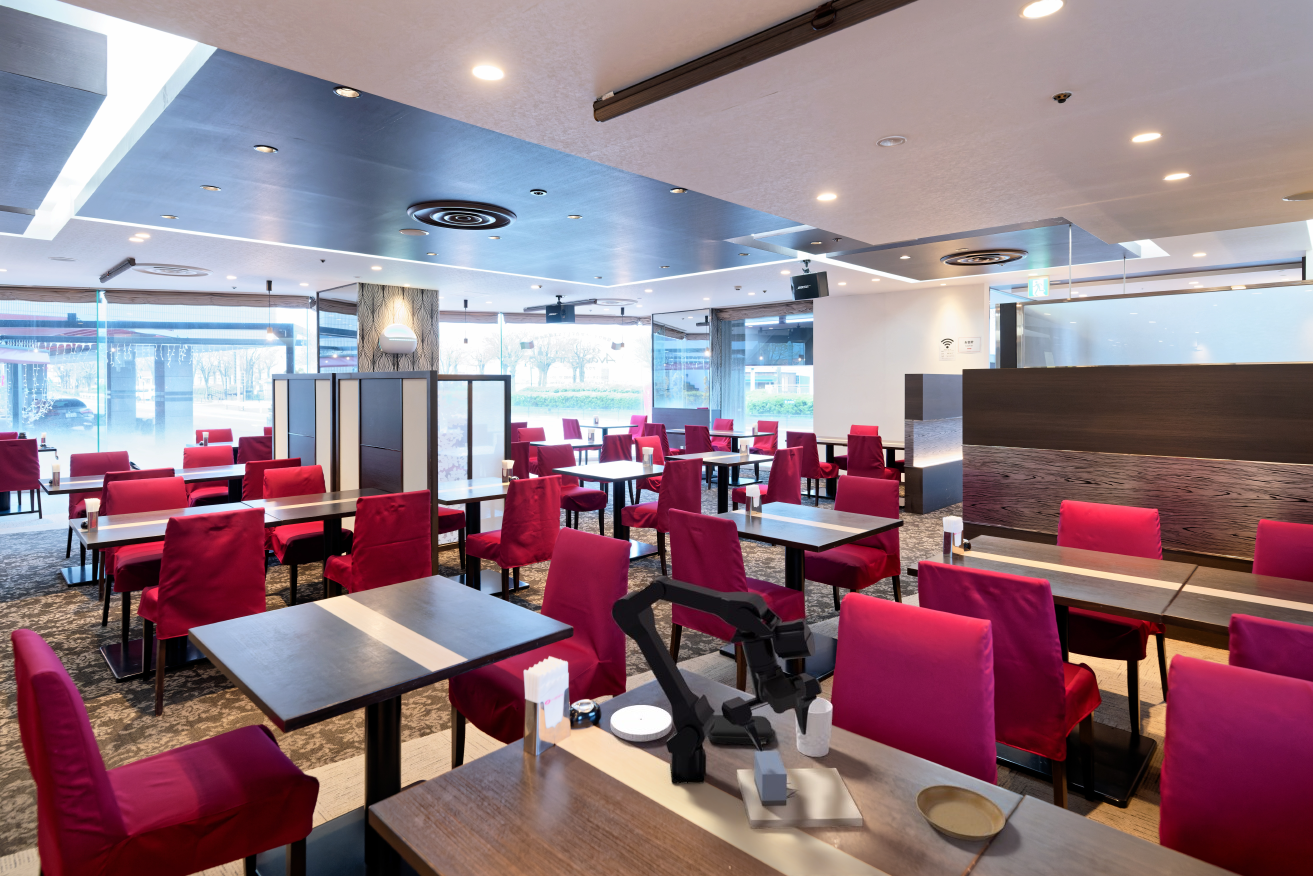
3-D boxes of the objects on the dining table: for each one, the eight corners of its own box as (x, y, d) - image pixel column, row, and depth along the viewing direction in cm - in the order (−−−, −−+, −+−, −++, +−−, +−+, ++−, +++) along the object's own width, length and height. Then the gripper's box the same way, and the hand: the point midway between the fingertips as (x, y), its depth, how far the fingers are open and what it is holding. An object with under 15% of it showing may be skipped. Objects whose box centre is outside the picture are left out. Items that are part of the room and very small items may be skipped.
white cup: (828, 740, 150) (829, 697, 150) (834, 760, 142) (835, 714, 142) (792, 738, 151) (793, 695, 150) (796, 758, 143) (797, 712, 143)
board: (750, 828, 120) (750, 820, 120) (737, 776, 136) (737, 769, 136) (862, 826, 121) (862, 818, 121) (835, 775, 137) (835, 767, 137)
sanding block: (762, 805, 124) (762, 774, 124) (754, 780, 132) (754, 751, 132) (786, 805, 124) (786, 774, 124) (777, 780, 132) (777, 750, 132)
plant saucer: (1001, 861, 112) (1001, 846, 112) (907, 831, 120) (908, 816, 120) (1008, 813, 125) (1008, 800, 125) (923, 789, 133) (923, 776, 132)
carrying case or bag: (707, 749, 147) (775, 750, 147) (707, 735, 147) (775, 737, 147) (705, 724, 158) (769, 726, 157) (705, 712, 158) (769, 713, 157)
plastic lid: (604, 743, 150) (604, 732, 149) (617, 713, 163) (617, 703, 163) (667, 748, 148) (667, 736, 147) (674, 717, 161) (674, 707, 161)
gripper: (732, 688, 119) (754, 776, 118) (825, 655, 124) (847, 739, 123) (711, 673, 129) (731, 754, 129) (797, 643, 134) (817, 721, 134)
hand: (782, 742), depth 128 cm, fingers open, 9 cm apart
